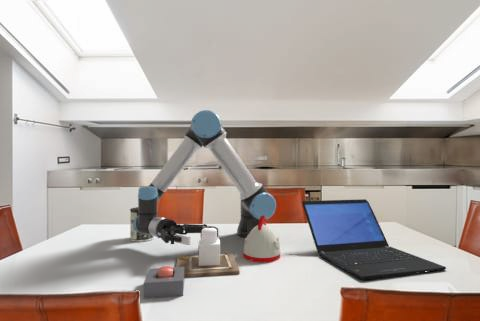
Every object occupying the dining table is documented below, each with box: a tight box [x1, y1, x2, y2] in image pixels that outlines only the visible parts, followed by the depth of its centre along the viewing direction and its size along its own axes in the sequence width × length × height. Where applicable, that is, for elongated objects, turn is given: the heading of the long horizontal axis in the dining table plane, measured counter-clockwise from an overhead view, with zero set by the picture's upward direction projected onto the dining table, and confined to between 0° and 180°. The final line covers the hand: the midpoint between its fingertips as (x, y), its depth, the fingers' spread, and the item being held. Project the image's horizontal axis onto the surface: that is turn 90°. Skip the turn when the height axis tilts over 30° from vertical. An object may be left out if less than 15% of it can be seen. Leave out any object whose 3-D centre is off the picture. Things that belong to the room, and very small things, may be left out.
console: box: [143, 266, 185, 299], centre depth 79 cm, size 10×10×4 cm
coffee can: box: [129, 206, 155, 243], centre depth 131 cm, size 10×10×14 cm
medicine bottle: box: [197, 225, 221, 266], centre depth 97 cm, size 7×7×12 cm
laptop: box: [301, 198, 447, 281], centre depth 106 cm, size 33×38×19 cm
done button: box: [158, 265, 173, 278], centre depth 79 cm, size 4×4×3 cm
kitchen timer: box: [242, 216, 281, 263], centre depth 107 cm, size 14×14×15 cm
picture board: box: [175, 252, 240, 278], centre depth 97 cm, size 20×18×1 cm
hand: (203, 236), depth 98 cm, fingers open, 13 cm apart
